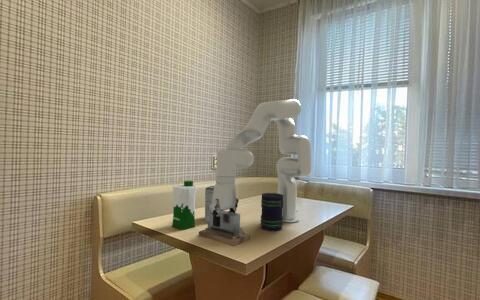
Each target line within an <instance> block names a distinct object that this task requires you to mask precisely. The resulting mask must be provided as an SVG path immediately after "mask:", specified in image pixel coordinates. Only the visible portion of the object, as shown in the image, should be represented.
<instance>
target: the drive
mask: <svg viewBox="0 0 480 300" xmlns="http://www.w3.org/2000/svg"><path fill="white" fill-rule="evenodd" d="M216 212H218V210H217V211H216ZM219 216H220V227H216V226H213V216H212V213H211V211H210V229H213V230H217V231H221V232H225V233H229V234H233V237H235V236H237V235H238V228H240V226H241V213H238V212H236V213H233V212H229V210H228V211H227V210H223V211H221V213H220V215H219Z"/></svg>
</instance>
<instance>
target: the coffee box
mask: <svg viewBox="0 0 480 300" xmlns="http://www.w3.org/2000/svg"><path fill="white" fill-rule="evenodd" d="M214 186H215V185H210V186H207V187H205V196H204V203H205V204H204V222H208V220H210V211H211V210H210V208H209V206H210V205H211V204H212V200H213V191H214Z"/></svg>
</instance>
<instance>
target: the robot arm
mask: <svg viewBox="0 0 480 300" xmlns="http://www.w3.org/2000/svg"><path fill="white" fill-rule="evenodd" d="M301 111H302V105H301V103H300V101H299V100H297V99H295V98H292V99H291V98H290V99H284V100H283V99H282V100H273V101H266V102H265V101H264V102H261V103H259V104H258V105H257V106H256V108H255V110H254V111H253V113H252V115H251V117H250V119H249V121H248V122H247V124H246V125H245V127H243V128H242V129H241V130H240V131H239V132H238V133H236V134H235V135H234V136H233V137H232V138H231V139H230V140H229V142H228V144H227V145H226V147H225V148H224V149H219V150H217V152H216V175H215V177H216V178H215V180H216V181H215V184H214V185H213V186H214V191H213V200H212V204H211V205H210V206H209V208H210V210H211V213H212V216H213V226H216V227H220V216H219V215H220V213H221V211H227V210H228V212H233V213H237V208H238V204H239V198H237V190H236V189H237V188H236V168H245V169H246V168H249V167H251V166H252V165H253V163H254V162H255V156H254V154H253V152H251V150H248V149H243V148H245V147H246V146H247V145H249V144H251V143H253V142H255V141H258V140H259V139H262V137H263V136H264V135H265V132H266V131H267V128H268V127H269V125H270V123H271V122H272V121H274V122H275V124H276V126H277V130H278V148H279V152H280V153H281V154H282V155H290V156H285V157H284V156H283V157H280V158H279V159H278V160H277V163H276V173H277V174H276V175H277V194H282V195H283V208H282V216H283V223H297V222H299V221H300V217H299V216H297V213H298V212H299V211H298V209H297V200H298V199H297V198H298V197H297V196H298V184H297V181H296V178H307V177H309V176H310V174H311V171H312V146H311V145H312V144H311V141H310V139H309V138H308V137H307V136H306V135H297V134H296V133H297V132H296V125H295V124H296V123H295V122H294V120H293V119H294V118H297V117H298V116H300V114H301ZM291 155H292V156H294V155H295V156H297V157H295V156H294V157H291ZM217 210H218V212H216V211H217Z"/></svg>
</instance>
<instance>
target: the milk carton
mask: <svg viewBox="0 0 480 300" xmlns="http://www.w3.org/2000/svg"><path fill="white" fill-rule="evenodd" d="M197 188H198V186H197V185H194V181H193V180H184V181H183V184H179V185H174V186H172V192H173V211H172V212H173V216H172V228H175V229H178V230H181V231H184V230H187V229H192V228H195V227H196V219H195V217H196V215H195V214H196V213H195V211H196V209H195V207H196V193H197Z"/></svg>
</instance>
